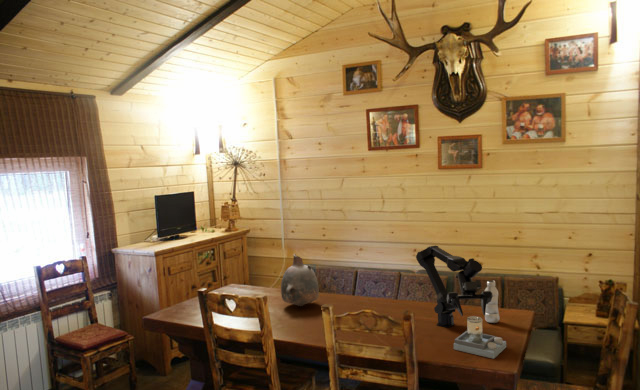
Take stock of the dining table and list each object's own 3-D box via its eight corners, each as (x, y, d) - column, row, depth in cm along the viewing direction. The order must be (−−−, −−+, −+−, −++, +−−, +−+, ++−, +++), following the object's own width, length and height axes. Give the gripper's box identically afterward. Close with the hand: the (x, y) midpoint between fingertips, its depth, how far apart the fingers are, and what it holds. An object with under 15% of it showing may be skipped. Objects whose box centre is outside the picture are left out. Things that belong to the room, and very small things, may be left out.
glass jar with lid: (465, 338, 205) (465, 316, 204) (480, 337, 205) (479, 315, 204) (471, 345, 197) (470, 323, 196) (486, 345, 196) (485, 322, 196)
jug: (319, 312, 259) (316, 257, 257) (279, 314, 259) (276, 259, 257) (319, 299, 283) (317, 249, 281) (283, 300, 284) (281, 251, 282)
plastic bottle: (500, 324, 227) (499, 283, 225) (485, 324, 228) (484, 283, 226) (498, 320, 233) (497, 279, 231) (484, 319, 234) (482, 279, 233)
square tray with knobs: (453, 349, 201) (453, 338, 201) (467, 338, 212) (467, 328, 211) (493, 358, 190) (493, 347, 190) (506, 347, 200) (506, 336, 200)
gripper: (447, 274, 207) (453, 307, 197) (490, 272, 206) (499, 305, 196) (444, 287, 216) (450, 319, 205) (486, 285, 215) (494, 317, 204)
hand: (473, 315), depth 203 cm, fingers open, 9 cm apart
